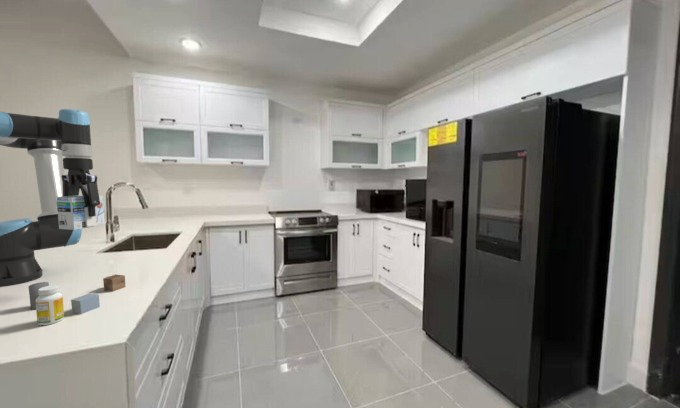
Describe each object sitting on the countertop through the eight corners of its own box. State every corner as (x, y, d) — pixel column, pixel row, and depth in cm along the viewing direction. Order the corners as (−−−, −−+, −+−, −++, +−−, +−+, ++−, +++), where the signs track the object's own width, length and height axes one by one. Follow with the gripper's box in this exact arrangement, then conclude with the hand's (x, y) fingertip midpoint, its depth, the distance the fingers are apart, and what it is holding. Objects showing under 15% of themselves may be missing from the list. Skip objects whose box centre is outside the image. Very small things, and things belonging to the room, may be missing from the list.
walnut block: (104, 290, 105) (103, 278, 105) (116, 286, 109) (115, 274, 109) (113, 291, 104) (112, 279, 103) (125, 287, 108) (124, 275, 108)
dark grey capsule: (27, 308, 91) (24, 286, 90) (45, 302, 95) (43, 281, 94) (36, 310, 89) (34, 287, 89) (54, 304, 93) (52, 282, 93)
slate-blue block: (72, 312, 88) (71, 299, 88) (90, 305, 93) (89, 293, 92) (81, 314, 87) (80, 301, 86) (99, 307, 91) (98, 294, 91)
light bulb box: (74, 230, 96) (71, 197, 95) (57, 229, 97) (54, 196, 96) (106, 224, 106) (104, 194, 105) (91, 224, 108) (88, 194, 107)
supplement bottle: (38, 328, 79) (35, 293, 78) (36, 321, 82) (33, 288, 81) (66, 320, 83) (63, 287, 82) (63, 314, 86) (60, 282, 85)
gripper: (44, 157, 99) (50, 225, 101) (85, 157, 93) (91, 229, 95) (70, 158, 106) (75, 221, 108) (110, 158, 100) (115, 225, 102)
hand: (83, 225), depth 102 cm, fingers closed on light bulb box, 7 cm apart
